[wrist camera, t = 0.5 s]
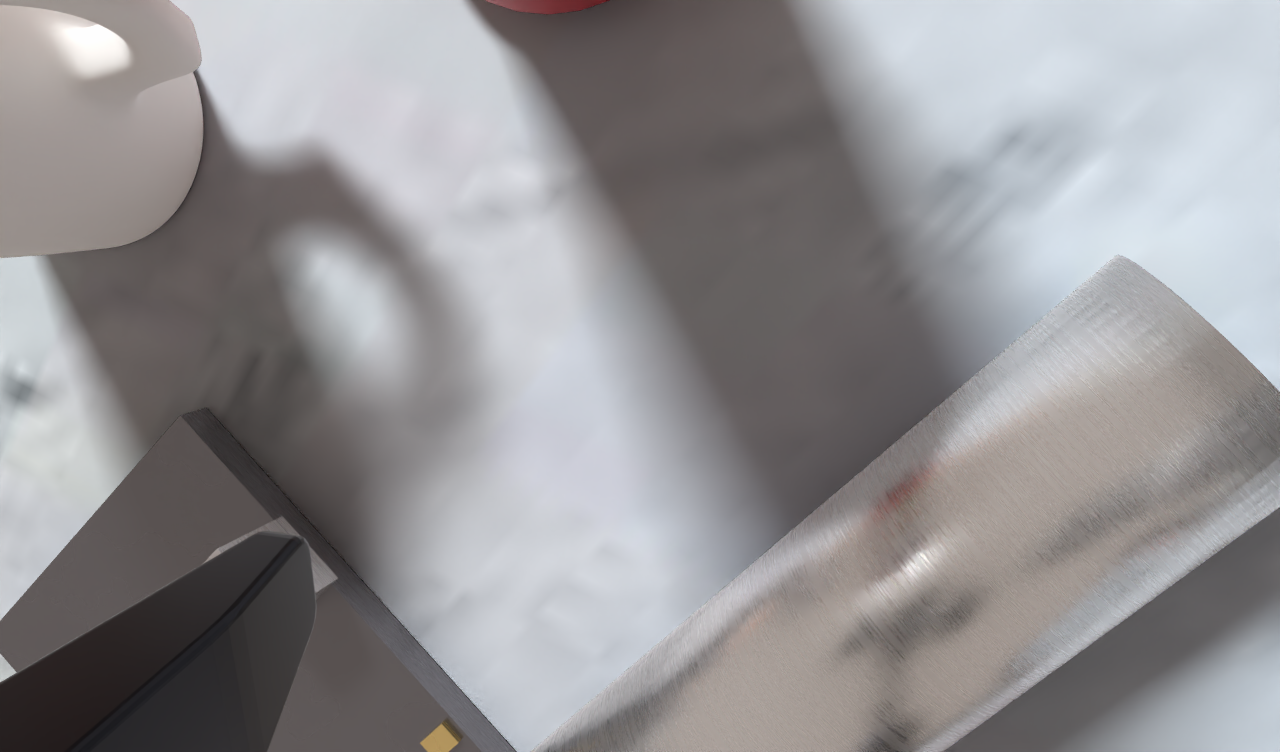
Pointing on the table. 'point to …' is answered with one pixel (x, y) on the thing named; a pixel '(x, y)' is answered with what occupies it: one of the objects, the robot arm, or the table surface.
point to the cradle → (207, 526)
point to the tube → (973, 544)
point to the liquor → (546, 5)
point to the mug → (94, 122)
